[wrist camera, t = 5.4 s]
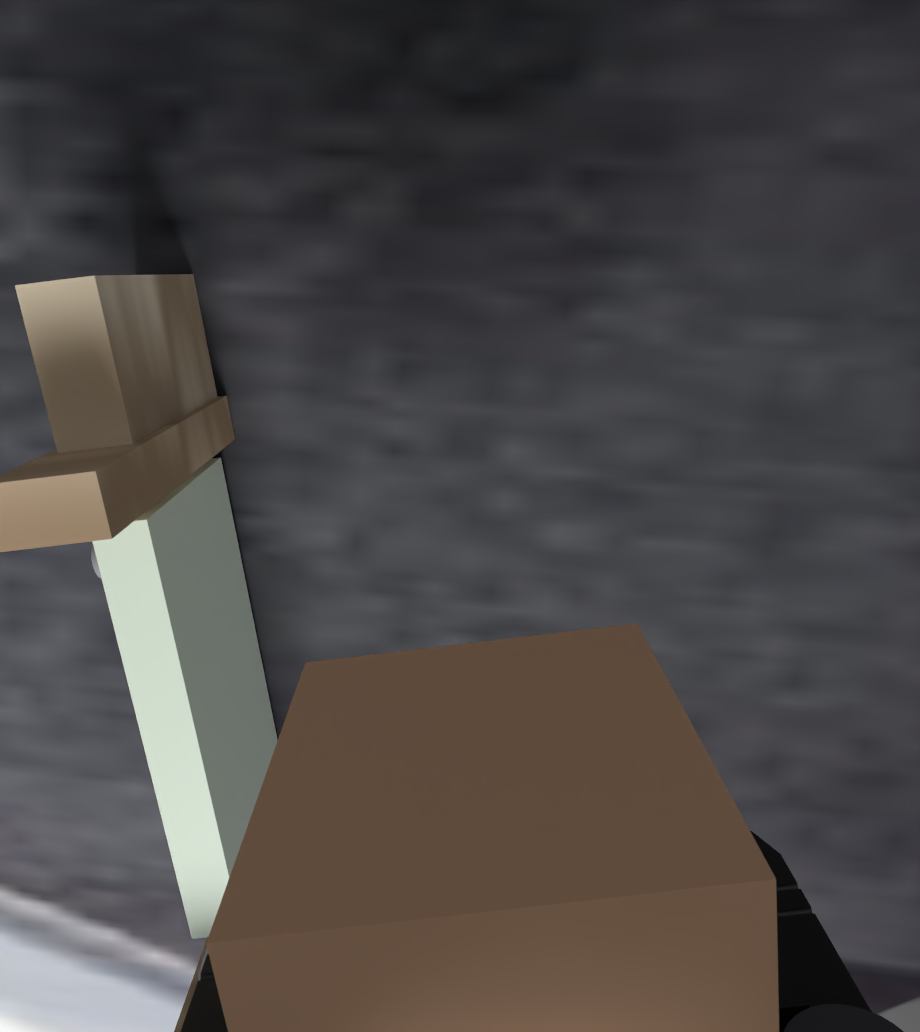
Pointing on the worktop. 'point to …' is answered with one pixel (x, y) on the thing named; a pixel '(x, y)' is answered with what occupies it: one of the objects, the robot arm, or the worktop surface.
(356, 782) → the rectangular block
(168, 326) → the door frame
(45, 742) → the worktop surface
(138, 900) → the worktop surface
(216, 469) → the door
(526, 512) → the worktop surface
